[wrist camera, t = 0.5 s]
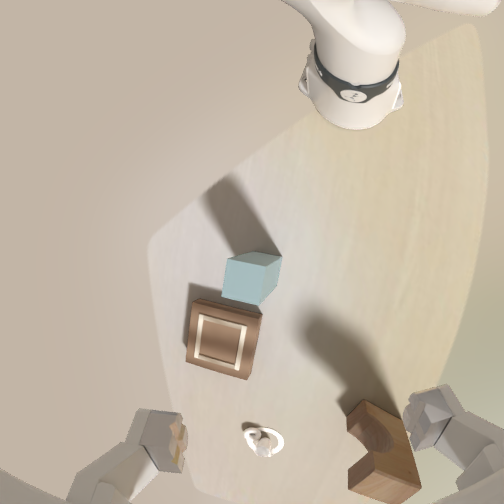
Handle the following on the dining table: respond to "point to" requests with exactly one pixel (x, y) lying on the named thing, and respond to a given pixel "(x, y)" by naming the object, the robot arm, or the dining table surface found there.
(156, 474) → the robot arm
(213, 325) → the plinth
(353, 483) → the decorative block
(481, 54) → the dining table surface
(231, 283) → the column
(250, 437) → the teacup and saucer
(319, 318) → the dining table surface
